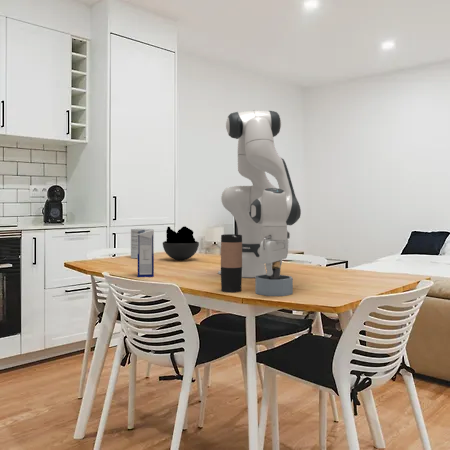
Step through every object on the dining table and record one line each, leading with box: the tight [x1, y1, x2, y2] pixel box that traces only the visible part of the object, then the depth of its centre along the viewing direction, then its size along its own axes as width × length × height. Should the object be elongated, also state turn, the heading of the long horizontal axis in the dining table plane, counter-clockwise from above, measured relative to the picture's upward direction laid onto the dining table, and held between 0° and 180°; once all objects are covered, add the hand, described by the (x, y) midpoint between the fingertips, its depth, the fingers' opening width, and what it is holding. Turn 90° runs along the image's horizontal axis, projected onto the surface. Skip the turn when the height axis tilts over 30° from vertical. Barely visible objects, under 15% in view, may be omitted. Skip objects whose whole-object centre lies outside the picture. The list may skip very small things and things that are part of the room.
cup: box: [254, 274, 294, 297], centre depth 173 cm, size 13×13×6 cm
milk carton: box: [137, 229, 155, 278], centre depth 212 cm, size 7×7×20 cm
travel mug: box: [220, 233, 243, 293], centre depth 176 cm, size 8×8×20 cm
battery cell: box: [269, 261, 281, 279], centre depth 174 cm, size 4×4×11 cm
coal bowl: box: [162, 225, 200, 261], centre depth 272 cm, size 20×20×19 cm
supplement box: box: [130, 228, 154, 260], centre depth 283 cm, size 10×9×17 cm
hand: (273, 273), depth 173 cm, fingers open, 7 cm apart
